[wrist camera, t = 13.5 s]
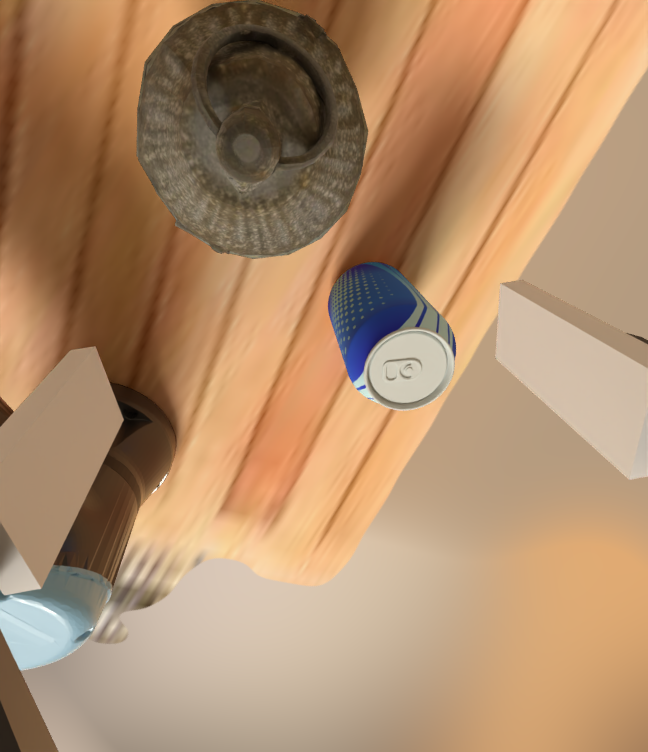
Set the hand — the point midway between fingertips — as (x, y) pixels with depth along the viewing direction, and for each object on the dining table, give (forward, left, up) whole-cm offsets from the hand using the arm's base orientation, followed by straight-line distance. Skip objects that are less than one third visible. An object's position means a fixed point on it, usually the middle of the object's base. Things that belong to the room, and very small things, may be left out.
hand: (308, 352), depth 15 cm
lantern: (-2, +6, -31) cm, 31 cm away
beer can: (+7, -9, -31) cm, 33 cm away
